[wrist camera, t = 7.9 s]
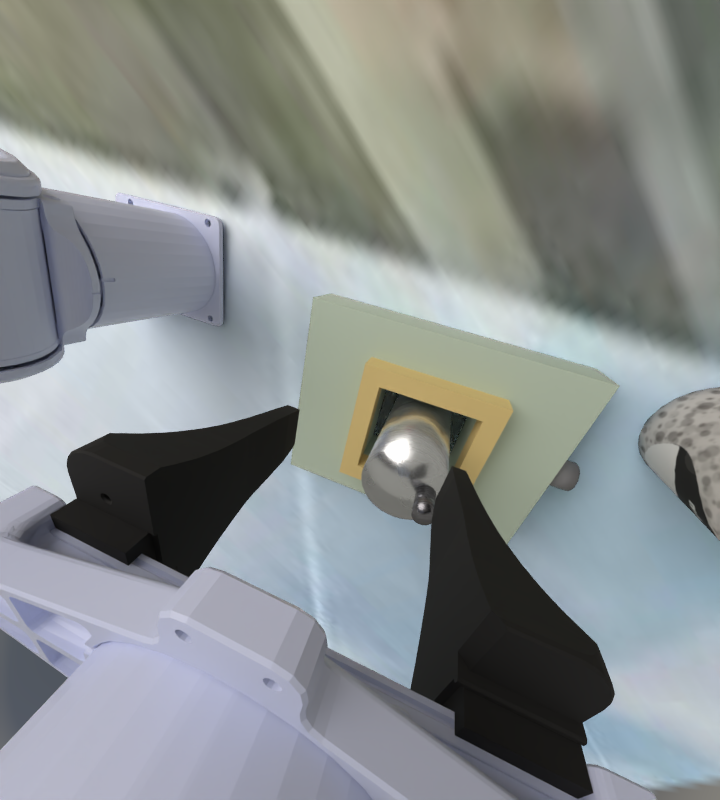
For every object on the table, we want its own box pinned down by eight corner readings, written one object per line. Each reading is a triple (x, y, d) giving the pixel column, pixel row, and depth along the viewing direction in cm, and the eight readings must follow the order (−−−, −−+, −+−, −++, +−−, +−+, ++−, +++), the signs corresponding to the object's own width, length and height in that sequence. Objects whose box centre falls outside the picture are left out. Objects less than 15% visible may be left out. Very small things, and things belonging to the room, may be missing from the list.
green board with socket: (306, 445, 28) (281, 474, 24) (331, 293, 21) (302, 299, 17) (517, 527, 24) (529, 576, 20) (624, 376, 18) (671, 407, 14)
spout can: (390, 428, 24) (348, 526, 15) (399, 379, 22) (355, 457, 13) (444, 441, 23) (434, 556, 14) (458, 391, 21) (457, 485, 12)
